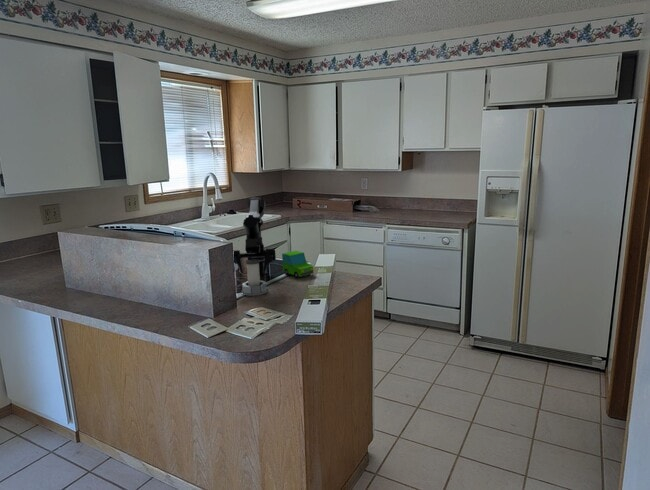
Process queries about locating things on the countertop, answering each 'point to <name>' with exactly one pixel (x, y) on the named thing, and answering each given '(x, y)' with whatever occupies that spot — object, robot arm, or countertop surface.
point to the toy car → (296, 264)
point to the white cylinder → (253, 272)
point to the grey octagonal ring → (254, 289)
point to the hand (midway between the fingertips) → (253, 273)
